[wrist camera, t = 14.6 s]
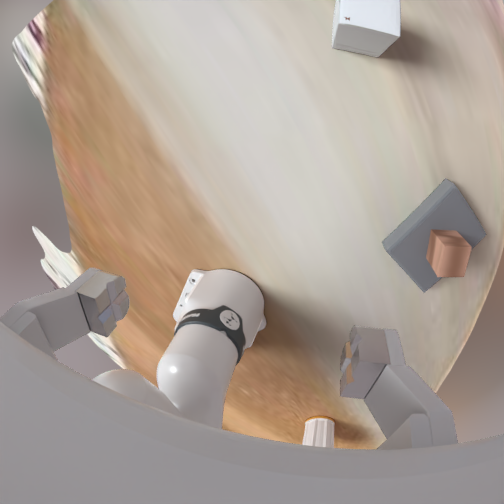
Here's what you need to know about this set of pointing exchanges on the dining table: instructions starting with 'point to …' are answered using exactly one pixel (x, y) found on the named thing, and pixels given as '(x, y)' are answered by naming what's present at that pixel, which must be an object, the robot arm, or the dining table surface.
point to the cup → (319, 432)
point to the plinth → (419, 227)
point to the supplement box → (366, 25)
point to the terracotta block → (448, 253)
